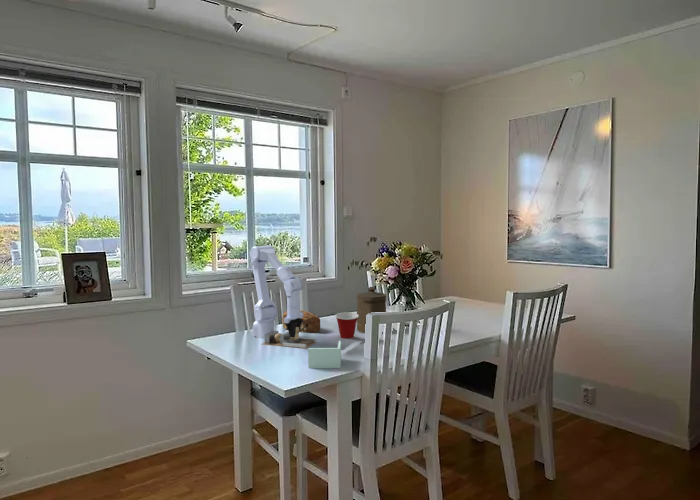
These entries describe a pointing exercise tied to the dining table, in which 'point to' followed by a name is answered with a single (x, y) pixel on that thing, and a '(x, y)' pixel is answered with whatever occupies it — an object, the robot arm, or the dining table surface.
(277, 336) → the tan ball
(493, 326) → the dining table surface
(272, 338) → the press base
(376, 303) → the wooden container
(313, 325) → the bread
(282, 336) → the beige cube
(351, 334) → the plastic cup
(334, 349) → the right angle wall
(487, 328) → the dining table surface
